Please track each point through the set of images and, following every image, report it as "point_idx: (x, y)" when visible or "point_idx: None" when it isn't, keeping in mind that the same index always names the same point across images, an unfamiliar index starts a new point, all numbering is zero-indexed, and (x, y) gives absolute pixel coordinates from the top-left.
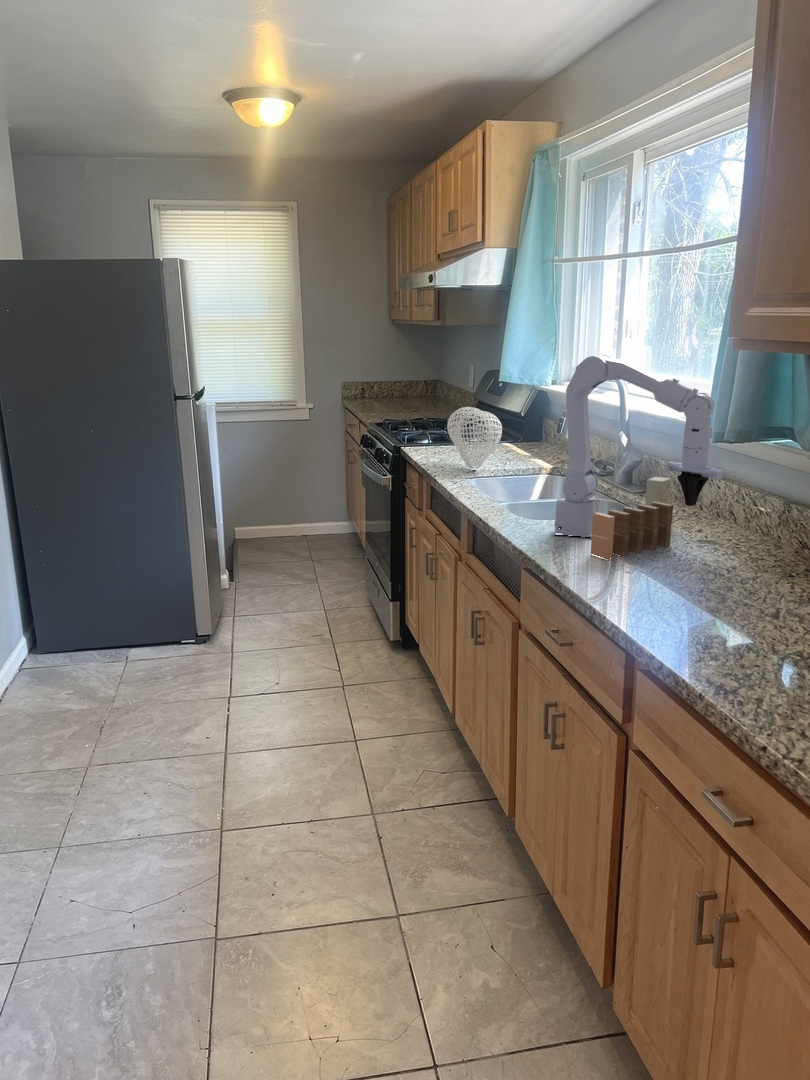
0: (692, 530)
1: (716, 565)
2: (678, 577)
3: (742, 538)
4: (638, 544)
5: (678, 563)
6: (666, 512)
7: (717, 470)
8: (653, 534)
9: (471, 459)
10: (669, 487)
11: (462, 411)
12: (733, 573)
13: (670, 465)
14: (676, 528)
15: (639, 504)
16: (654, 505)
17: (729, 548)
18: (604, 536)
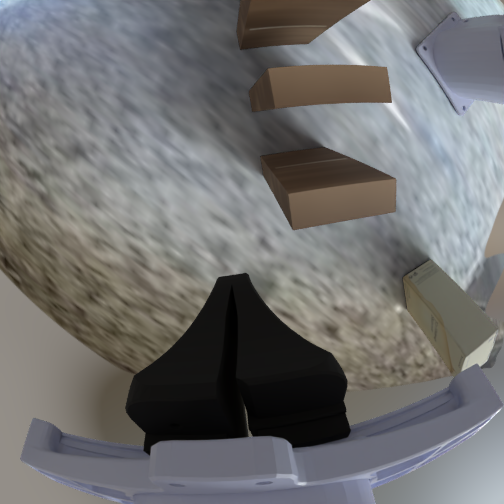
0: (342, 321)
1: (64, 173)
2: (35, 40)
3: None
4: (238, 25)
5: (104, 86)
6: (291, 181)
7: (54, 478)
8: (254, 90)
9: None
10: (447, 365)
11: None
12: (18, 173)
13: (468, 411)
14: (373, 302)
15: (388, 80)
16: (373, 177)
17: (180, 299)
18: None
